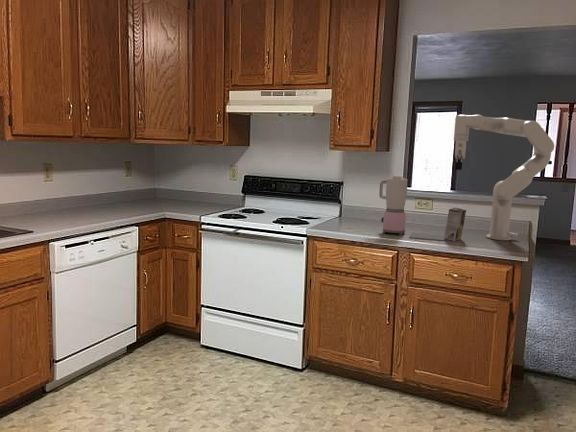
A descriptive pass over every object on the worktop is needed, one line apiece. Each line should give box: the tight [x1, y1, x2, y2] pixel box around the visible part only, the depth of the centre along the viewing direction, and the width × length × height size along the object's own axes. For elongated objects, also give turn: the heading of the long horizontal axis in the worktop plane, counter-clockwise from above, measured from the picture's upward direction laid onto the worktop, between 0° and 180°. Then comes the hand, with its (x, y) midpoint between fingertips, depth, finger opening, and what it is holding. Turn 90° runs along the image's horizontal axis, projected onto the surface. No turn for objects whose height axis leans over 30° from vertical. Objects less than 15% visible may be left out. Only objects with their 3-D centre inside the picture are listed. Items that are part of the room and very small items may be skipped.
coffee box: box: [444, 207, 467, 242], centre depth 261 cm, size 9×6×16 cm
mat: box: [409, 231, 446, 242], centre depth 267 cm, size 18×15×1 cm
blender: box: [379, 175, 409, 236], centre depth 273 cm, size 16×12×32 cm
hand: (458, 169), depth 271 cm, fingers open, 9 cm apart
